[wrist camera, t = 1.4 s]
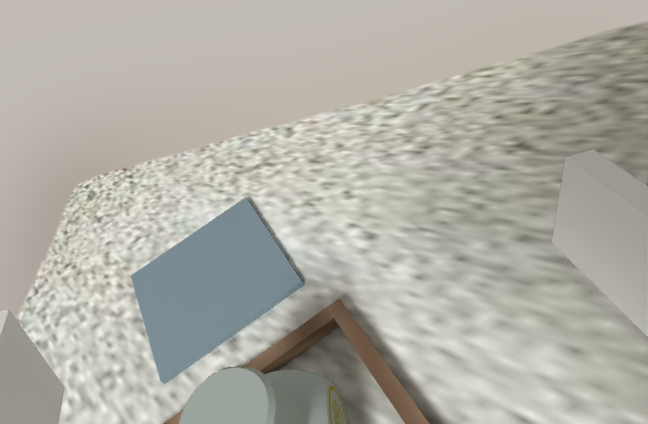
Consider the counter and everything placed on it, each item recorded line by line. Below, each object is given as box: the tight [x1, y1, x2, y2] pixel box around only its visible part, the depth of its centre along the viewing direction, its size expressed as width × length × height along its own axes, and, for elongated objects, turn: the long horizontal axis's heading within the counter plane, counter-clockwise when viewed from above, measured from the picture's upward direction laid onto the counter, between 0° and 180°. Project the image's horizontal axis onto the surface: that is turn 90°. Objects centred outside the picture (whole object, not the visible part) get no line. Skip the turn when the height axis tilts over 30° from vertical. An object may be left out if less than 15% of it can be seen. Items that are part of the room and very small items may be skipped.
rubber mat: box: [131, 198, 304, 384], centre depth 49 cm, size 14×14×1 cm
